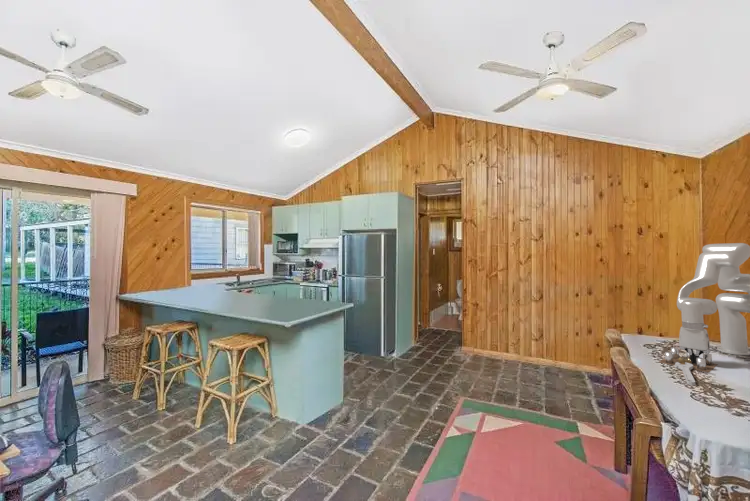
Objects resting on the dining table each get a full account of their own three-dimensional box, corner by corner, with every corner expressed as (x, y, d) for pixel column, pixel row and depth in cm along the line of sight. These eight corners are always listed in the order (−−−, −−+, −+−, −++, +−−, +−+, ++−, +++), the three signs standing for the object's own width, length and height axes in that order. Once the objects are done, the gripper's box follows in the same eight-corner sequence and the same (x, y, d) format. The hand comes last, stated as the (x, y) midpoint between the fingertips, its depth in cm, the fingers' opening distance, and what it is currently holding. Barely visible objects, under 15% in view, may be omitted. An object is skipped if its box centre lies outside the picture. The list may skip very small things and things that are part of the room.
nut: (677, 360, 160) (676, 356, 160) (689, 361, 158) (689, 357, 158) (680, 363, 157) (680, 359, 157) (693, 364, 154) (693, 360, 154)
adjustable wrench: (696, 386, 134) (696, 382, 134) (675, 382, 138) (675, 378, 138) (693, 366, 152) (692, 363, 152) (674, 364, 156) (674, 360, 156)
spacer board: (669, 356, 169) (669, 355, 169) (718, 365, 153) (718, 364, 153) (658, 363, 160) (658, 362, 160) (708, 373, 145) (708, 372, 145)
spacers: (672, 356, 167) (671, 347, 167) (713, 364, 154) (712, 354, 154) (663, 362, 160) (662, 352, 160) (705, 370, 147) (704, 360, 147)
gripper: (716, 327, 150) (719, 365, 150) (675, 322, 163) (677, 357, 163) (712, 329, 146) (715, 369, 146) (670, 324, 159) (672, 360, 159)
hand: (695, 362), depth 154 cm, fingers closed
